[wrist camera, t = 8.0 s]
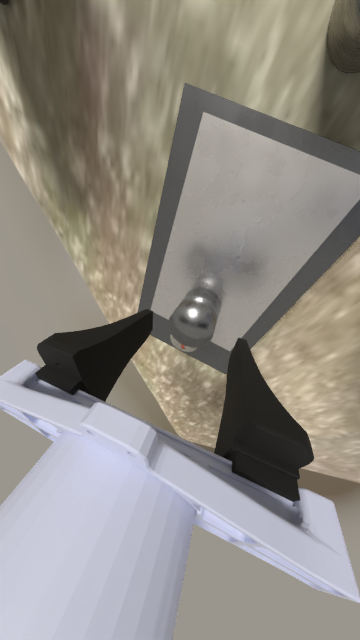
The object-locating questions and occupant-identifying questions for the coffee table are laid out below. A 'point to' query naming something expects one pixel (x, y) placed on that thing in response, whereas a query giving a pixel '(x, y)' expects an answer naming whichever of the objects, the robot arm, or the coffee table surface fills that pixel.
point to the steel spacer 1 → (195, 318)
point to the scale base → (182, 147)
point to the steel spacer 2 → (345, 36)
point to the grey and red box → (4, 2)
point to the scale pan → (248, 222)
